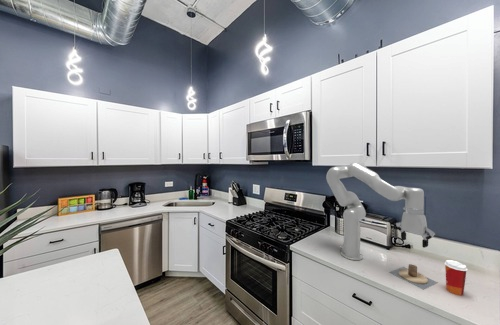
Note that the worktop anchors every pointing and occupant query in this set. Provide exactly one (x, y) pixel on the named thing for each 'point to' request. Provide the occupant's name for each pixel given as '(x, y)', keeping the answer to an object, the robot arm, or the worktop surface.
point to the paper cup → (455, 277)
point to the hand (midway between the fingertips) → (413, 243)
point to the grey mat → (422, 286)
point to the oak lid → (412, 275)
